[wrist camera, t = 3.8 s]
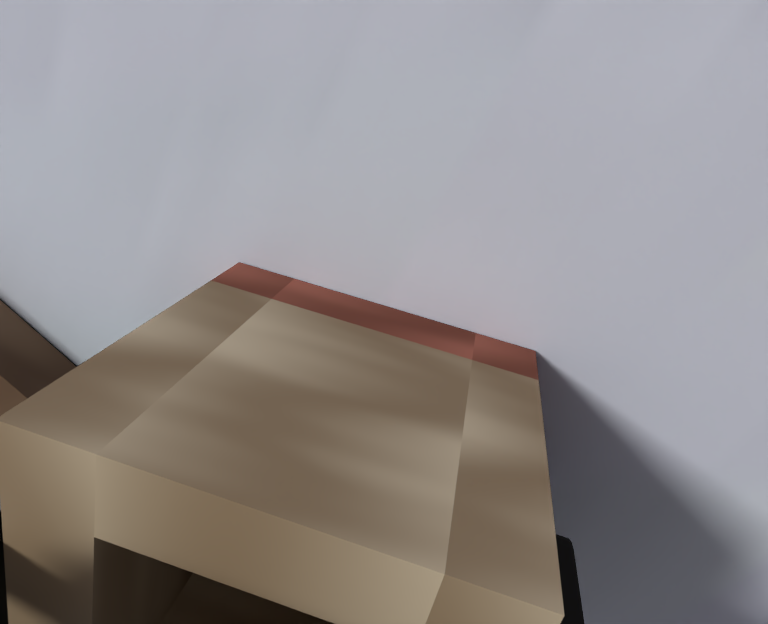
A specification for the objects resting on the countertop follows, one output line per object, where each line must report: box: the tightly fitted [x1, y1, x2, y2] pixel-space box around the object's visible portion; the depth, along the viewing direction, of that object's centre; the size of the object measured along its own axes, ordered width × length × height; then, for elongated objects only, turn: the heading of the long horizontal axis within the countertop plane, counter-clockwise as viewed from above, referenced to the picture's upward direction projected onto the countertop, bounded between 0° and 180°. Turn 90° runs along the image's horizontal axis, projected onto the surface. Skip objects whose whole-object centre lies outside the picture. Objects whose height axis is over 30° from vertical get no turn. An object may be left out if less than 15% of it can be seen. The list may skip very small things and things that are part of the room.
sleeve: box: [0, 262, 564, 624], centre depth 10 cm, size 6×6×6 cm
